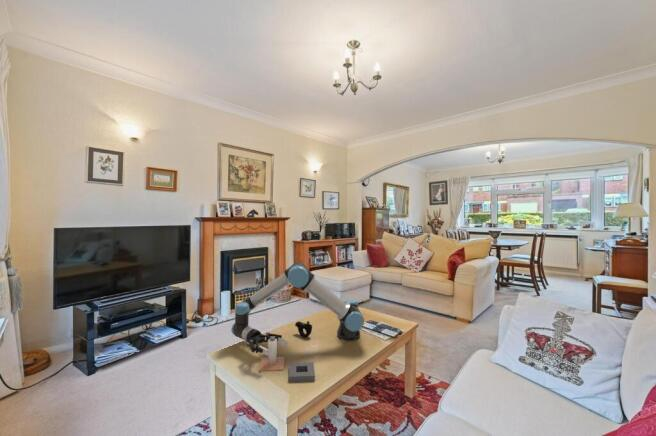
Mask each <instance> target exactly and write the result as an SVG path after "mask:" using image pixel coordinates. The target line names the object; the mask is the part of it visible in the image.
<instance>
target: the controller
mask: <svg viewBox="0 0 656 436" xmlns="http://www.w3.org/2000/svg"><path fill="white" fill-rule="evenodd" d="M310 322H311V321H309V320H308V321H306V322H301V321H296V322H295V324H294V326H295V327H296V328H297V331H298V333H299V335H300V336H301V337H302V338H307V337H309V336H310V335H311V334H312V331H313V324H311V323H310Z"/></svg>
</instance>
